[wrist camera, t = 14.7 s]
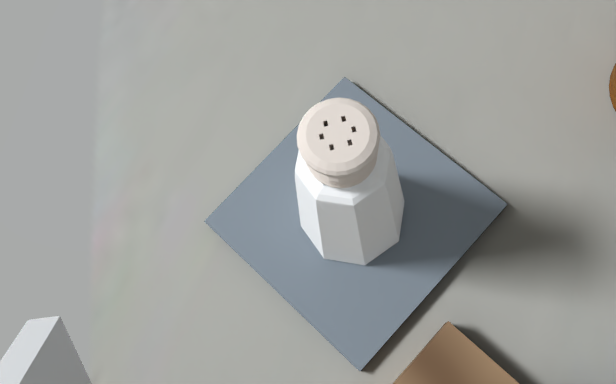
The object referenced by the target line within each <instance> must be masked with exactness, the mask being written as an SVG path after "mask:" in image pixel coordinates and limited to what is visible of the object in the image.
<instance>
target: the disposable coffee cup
mask: <svg viewBox="0 0 616 384" xmlns="http://www.w3.org/2000/svg"><path fill="white" fill-rule="evenodd" d="M609 91H610V98H611V101H612V104H613V107H614V109H615V111H616V64H615V66H614V68H613V71H612V73H611V76H610V83H609Z"/></svg>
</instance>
